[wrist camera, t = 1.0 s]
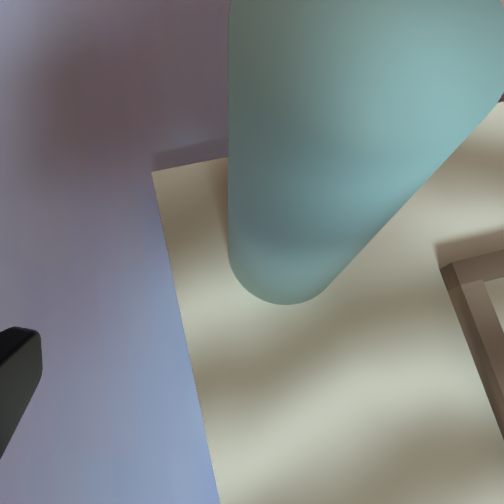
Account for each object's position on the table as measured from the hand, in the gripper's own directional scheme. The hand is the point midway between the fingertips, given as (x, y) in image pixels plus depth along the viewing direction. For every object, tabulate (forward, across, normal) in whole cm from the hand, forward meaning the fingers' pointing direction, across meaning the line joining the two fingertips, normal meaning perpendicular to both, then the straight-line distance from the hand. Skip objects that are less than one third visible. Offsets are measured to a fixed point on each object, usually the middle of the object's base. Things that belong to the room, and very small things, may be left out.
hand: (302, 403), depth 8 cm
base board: (+13, -8, +6) cm, 16 cm away
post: (+13, 0, +4) cm, 13 cm away
